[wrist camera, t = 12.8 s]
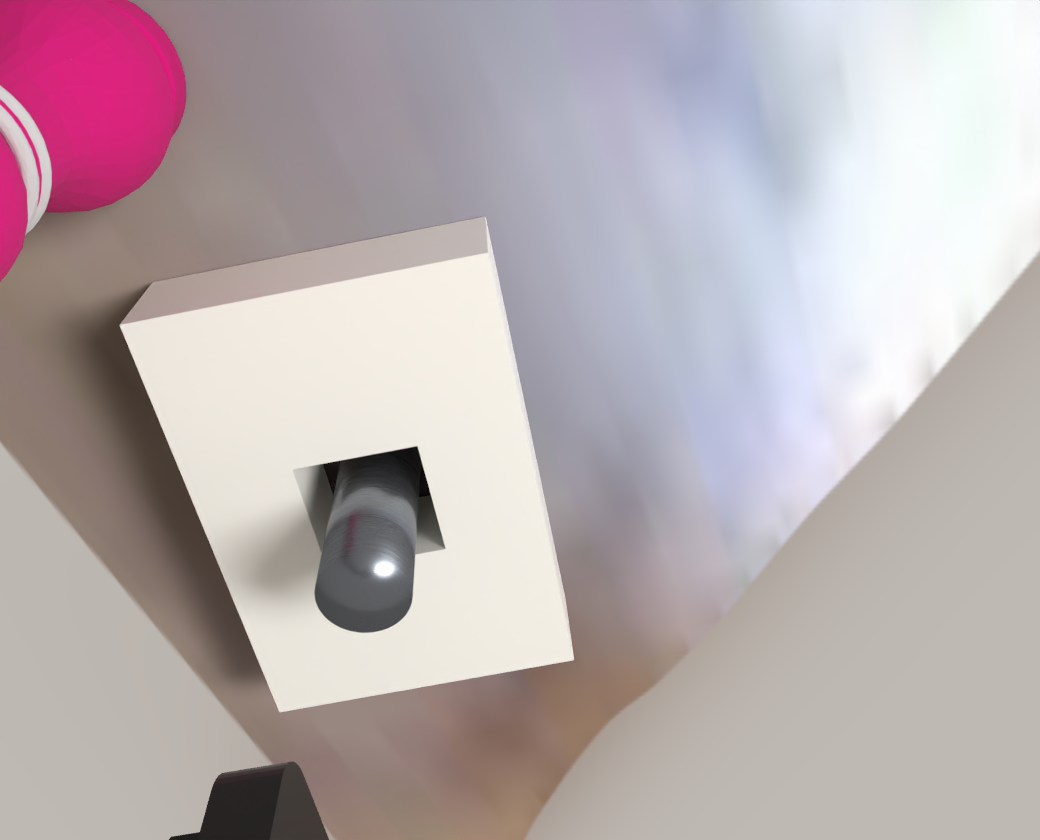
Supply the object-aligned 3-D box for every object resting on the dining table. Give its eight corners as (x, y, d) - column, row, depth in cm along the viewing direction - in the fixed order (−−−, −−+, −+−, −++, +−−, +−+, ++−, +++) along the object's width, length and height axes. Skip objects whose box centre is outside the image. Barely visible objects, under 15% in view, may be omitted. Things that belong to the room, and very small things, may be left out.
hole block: (152, 282, 41) (119, 324, 37) (485, 216, 40) (487, 252, 36) (294, 647, 51) (279, 712, 47) (565, 598, 50) (574, 660, 46)
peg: (332, 430, 45) (302, 565, 36) (410, 415, 45) (399, 547, 36) (354, 495, 46) (329, 640, 38) (429, 481, 46) (422, 623, 38)
